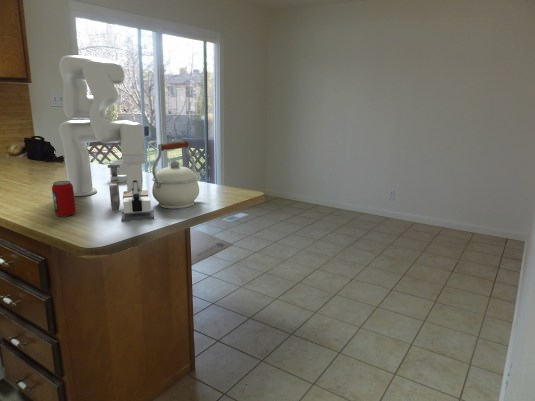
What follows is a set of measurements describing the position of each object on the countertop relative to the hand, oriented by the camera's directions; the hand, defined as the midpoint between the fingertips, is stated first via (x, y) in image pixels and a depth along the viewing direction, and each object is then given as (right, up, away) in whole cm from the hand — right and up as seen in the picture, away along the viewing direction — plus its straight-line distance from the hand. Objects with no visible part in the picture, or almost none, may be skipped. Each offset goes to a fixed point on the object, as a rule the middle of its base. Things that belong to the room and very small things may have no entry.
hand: (137, 208), depth 138 cm
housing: (-7, 0, +13) cm, 15 cm away
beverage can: (-27, -3, +2) cm, 27 cm away
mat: (0, -3, +1) cm, 3 cm away
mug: (-27, +13, +60) cm, 67 cm away
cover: (0, -1, 0) cm, 1 cm away
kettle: (+11, +1, +19) cm, 22 cm away
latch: (-12, +11, +13) cm, 21 cm away
